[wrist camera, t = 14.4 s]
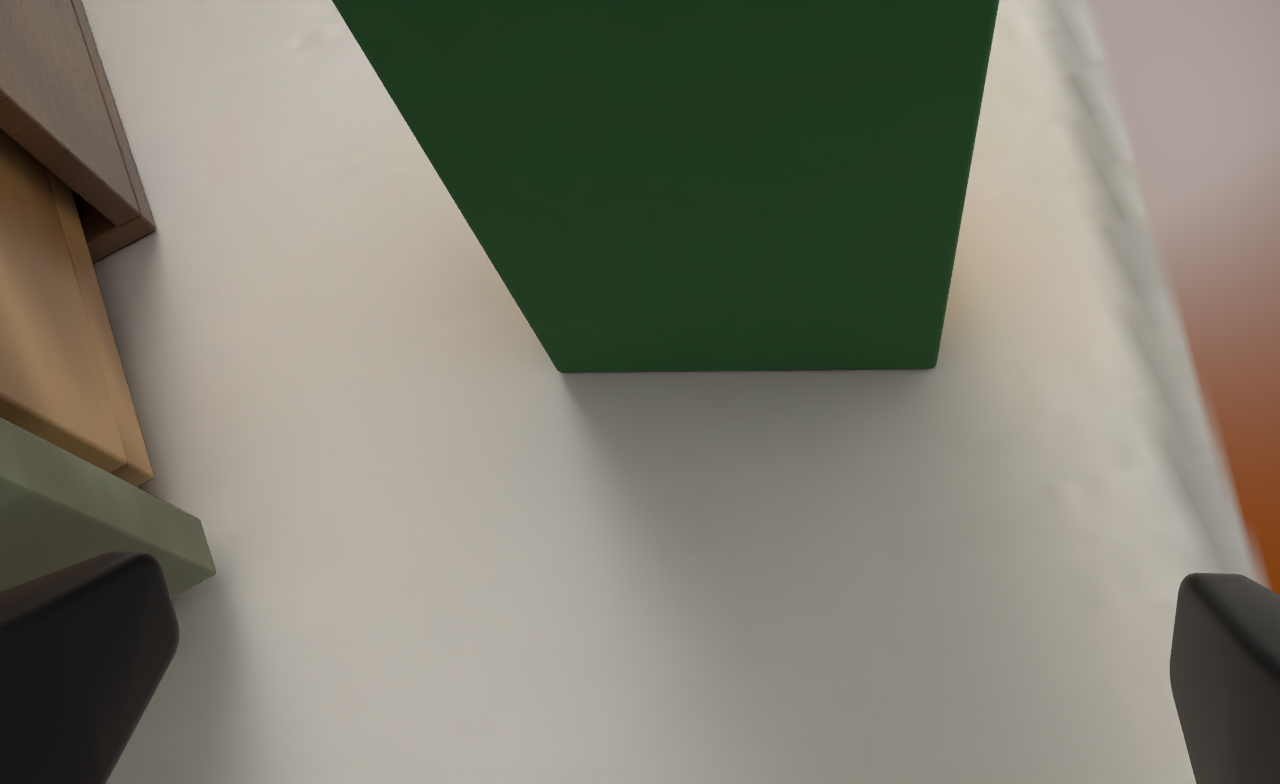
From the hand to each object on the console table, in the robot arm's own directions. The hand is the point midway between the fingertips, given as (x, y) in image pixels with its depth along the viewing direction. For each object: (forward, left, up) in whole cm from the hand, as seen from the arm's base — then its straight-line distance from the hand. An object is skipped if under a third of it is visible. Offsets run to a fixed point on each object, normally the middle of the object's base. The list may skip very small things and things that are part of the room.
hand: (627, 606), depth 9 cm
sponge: (+8, +1, -9) cm, 12 cm away
